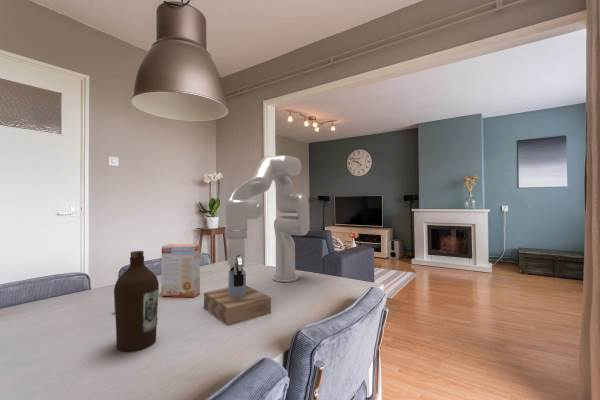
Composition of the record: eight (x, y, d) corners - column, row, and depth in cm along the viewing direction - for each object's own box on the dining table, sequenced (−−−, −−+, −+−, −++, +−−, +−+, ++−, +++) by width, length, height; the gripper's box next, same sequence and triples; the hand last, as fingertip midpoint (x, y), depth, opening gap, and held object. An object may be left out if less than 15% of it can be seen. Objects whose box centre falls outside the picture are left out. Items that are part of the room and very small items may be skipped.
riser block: (203, 308, 106) (203, 292, 106) (243, 299, 116) (243, 284, 116) (227, 327, 90) (227, 307, 90) (270, 314, 100) (270, 297, 100)
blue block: (228, 292, 105) (228, 270, 105) (243, 291, 107) (243, 269, 107) (229, 297, 100) (229, 274, 100) (245, 296, 101) (245, 273, 101)
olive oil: (104, 353, 74) (104, 255, 74) (130, 334, 84) (130, 248, 84) (144, 353, 73) (145, 255, 73) (165, 334, 84) (165, 248, 84)
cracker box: (200, 293, 122) (200, 243, 122) (193, 298, 116) (193, 245, 116) (169, 292, 123) (169, 243, 123) (160, 297, 117) (160, 245, 117)
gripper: (223, 232, 110) (223, 277, 110) (228, 237, 94) (228, 290, 94) (243, 231, 113) (243, 275, 112) (251, 236, 96) (251, 288, 96)
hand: (236, 282), depth 103 cm, fingers open, 9 cm apart
